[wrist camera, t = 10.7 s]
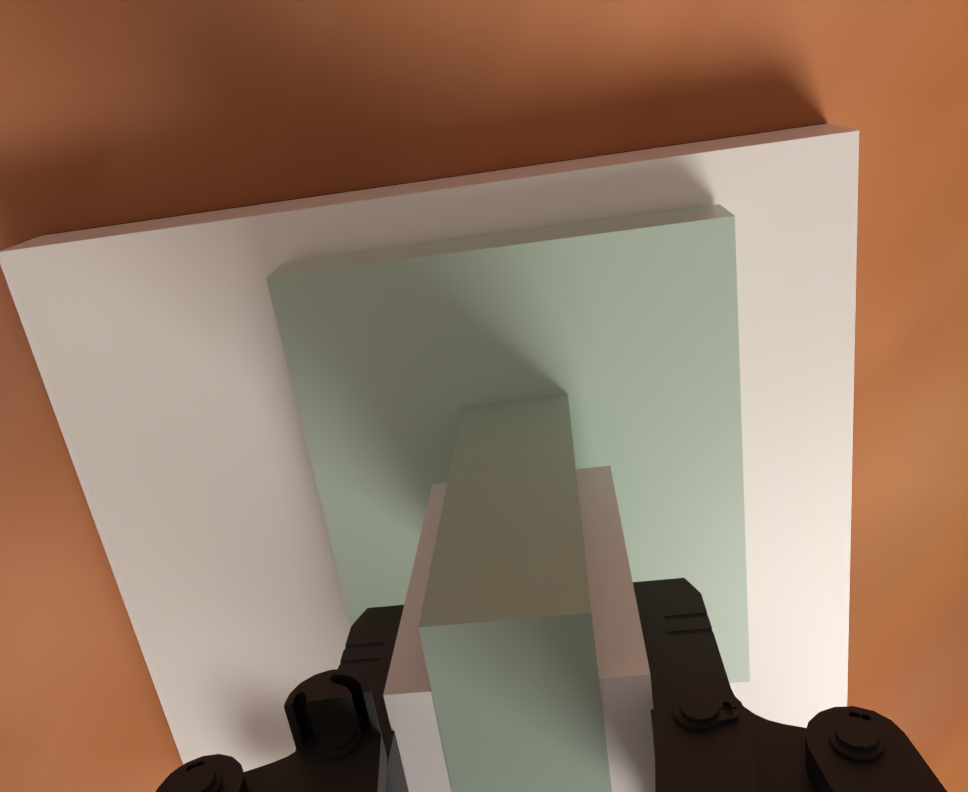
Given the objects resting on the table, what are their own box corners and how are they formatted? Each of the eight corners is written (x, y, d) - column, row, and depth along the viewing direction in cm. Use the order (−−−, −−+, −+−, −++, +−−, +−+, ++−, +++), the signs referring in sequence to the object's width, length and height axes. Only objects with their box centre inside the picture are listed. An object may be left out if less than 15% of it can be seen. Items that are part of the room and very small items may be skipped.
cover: (736, 643, 23) (865, 1009, 14) (381, 672, 24) (292, 1030, 15) (719, 204, 18) (889, 335, 10) (284, 261, 19) (81, 429, 11)
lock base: (822, 829, 28) (846, 892, 26) (255, 861, 30) (235, 922, 28) (828, 123, 20) (864, 131, 18) (41, 235, 22) (-12, 255, 20)
